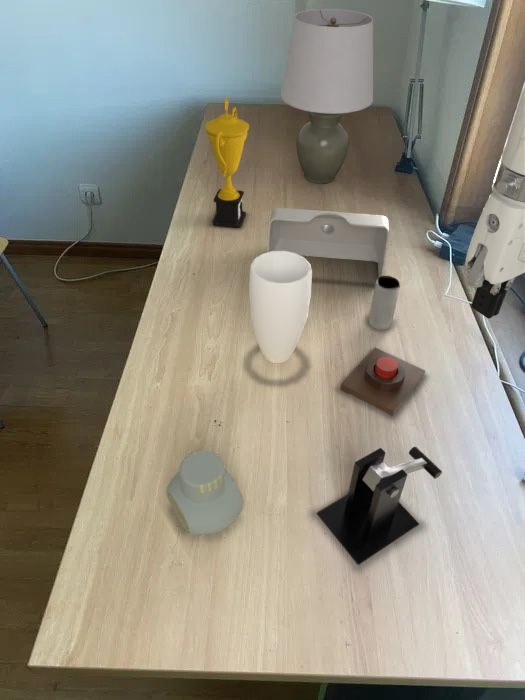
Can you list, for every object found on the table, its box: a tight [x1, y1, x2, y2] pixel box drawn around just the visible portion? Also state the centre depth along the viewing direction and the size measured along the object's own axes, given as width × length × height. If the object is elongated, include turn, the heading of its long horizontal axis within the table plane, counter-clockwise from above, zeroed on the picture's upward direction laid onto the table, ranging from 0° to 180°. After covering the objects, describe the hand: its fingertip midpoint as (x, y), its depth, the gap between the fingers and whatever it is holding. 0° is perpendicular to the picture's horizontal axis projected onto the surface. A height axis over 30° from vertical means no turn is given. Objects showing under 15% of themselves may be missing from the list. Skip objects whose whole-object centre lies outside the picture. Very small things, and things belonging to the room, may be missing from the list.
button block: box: [340, 347, 426, 417], centre depth 98 cm, size 12×10×4 cm
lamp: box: [279, 8, 374, 185], centre depth 147 cm, size 24×24×40 cm
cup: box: [248, 251, 313, 364], centre depth 95 cm, size 10×10×22 cm
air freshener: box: [165, 449, 244, 536], centre depth 77 cm, size 11×8×10 cm
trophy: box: [204, 96, 250, 229], centre depth 130 cm, size 19×10×30 cm, turn 170°
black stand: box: [316, 447, 420, 566], centre depth 75 cm, size 11×9×13 cm
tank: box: [266, 207, 390, 278], centre depth 123 cm, size 25×16×12 cm, turn 83°
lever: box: [363, 446, 443, 491], centre depth 75 cm, size 12×5×2 cm, turn 123°
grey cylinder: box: [368, 275, 401, 330], centre depth 108 cm, size 4×4×10 cm
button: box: [375, 357, 398, 379], centre depth 96 cm, size 4×4×2 cm
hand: (484, 310), depth 75 cm, fingers closed
